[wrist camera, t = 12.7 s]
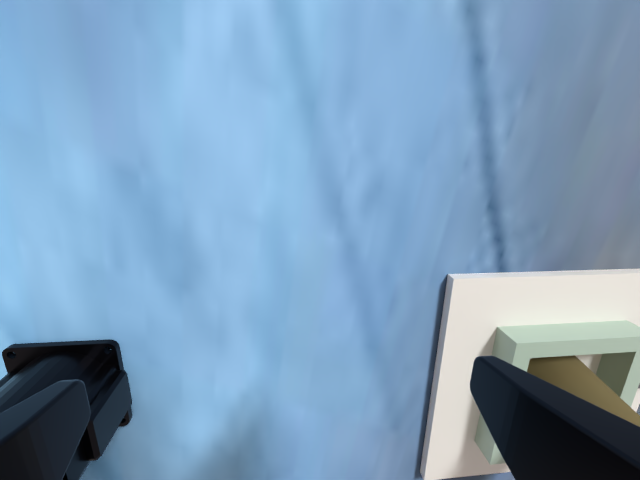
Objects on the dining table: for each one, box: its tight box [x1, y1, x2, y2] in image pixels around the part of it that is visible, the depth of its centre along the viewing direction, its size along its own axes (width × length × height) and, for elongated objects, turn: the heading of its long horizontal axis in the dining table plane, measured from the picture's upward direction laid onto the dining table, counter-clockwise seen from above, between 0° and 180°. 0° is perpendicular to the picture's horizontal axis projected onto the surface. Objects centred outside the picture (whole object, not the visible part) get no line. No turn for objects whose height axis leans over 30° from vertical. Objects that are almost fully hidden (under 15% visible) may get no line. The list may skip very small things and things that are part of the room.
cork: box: [527, 355, 640, 427], centre depth 19 cm, size 6×6×11 cm
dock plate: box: [420, 269, 640, 480], centre depth 24 cm, size 18×18×3 cm
